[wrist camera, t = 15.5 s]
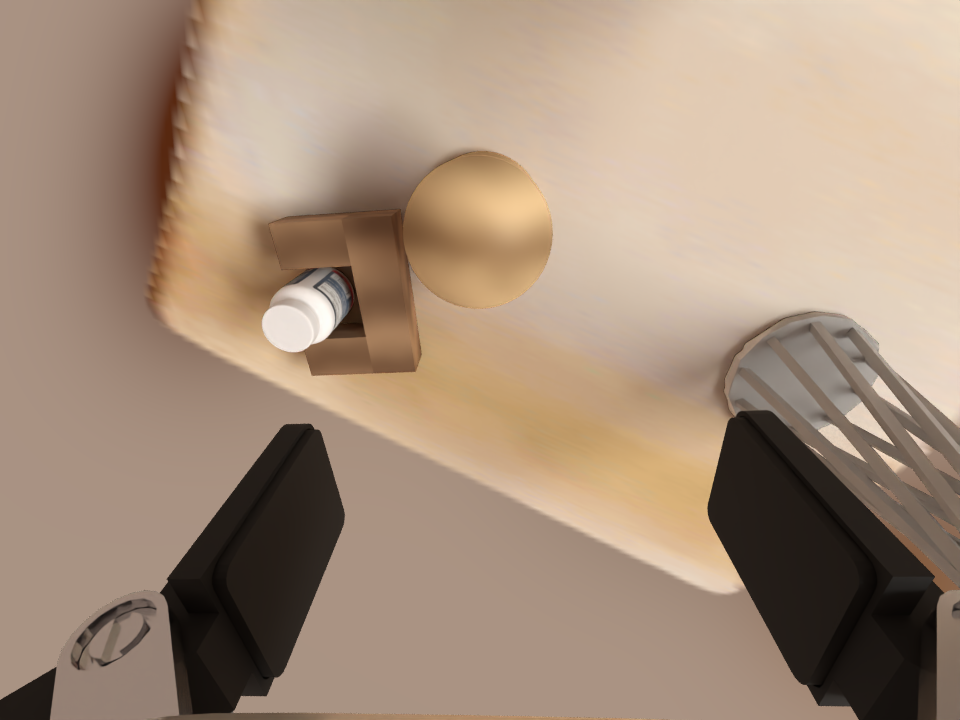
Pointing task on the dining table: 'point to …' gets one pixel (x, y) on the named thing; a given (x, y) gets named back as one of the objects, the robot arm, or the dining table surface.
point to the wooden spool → (478, 230)
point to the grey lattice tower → (832, 394)
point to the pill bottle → (308, 309)
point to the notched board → (358, 288)
